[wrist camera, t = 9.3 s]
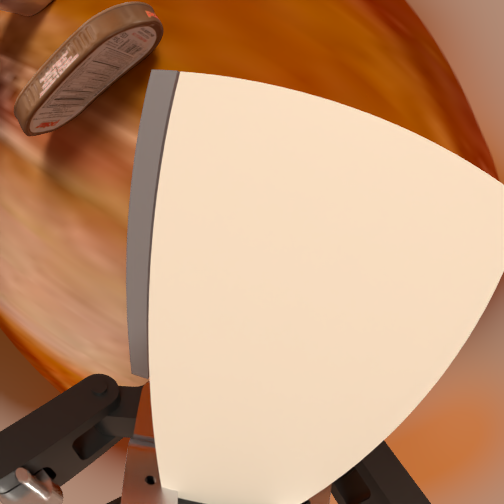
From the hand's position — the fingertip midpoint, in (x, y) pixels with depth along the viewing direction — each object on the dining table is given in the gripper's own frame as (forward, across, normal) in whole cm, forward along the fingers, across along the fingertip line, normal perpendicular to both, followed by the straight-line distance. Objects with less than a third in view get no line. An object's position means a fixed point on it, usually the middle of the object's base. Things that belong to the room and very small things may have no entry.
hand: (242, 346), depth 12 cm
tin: (+15, +17, -12) cm, 26 cm away
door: (+3, 0, 0) cm, 3 cm away
